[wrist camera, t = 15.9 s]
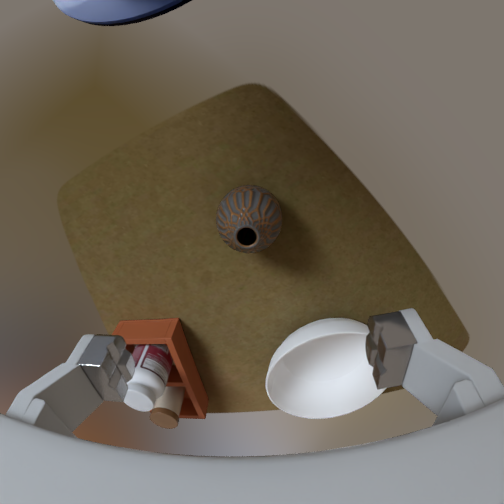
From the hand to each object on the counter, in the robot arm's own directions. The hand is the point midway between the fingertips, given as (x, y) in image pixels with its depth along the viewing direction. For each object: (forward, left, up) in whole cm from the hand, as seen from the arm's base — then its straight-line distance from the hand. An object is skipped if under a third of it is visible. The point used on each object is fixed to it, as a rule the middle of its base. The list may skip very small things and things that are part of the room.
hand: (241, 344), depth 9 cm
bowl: (+25, -11, -27) cm, 39 cm away
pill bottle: (+6, -29, -27) cm, 40 cm away
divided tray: (+10, -32, -27) cm, 43 cm away
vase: (+2, -3, -27) cm, 28 cm away
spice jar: (+13, -35, -27) cm, 46 cm away
